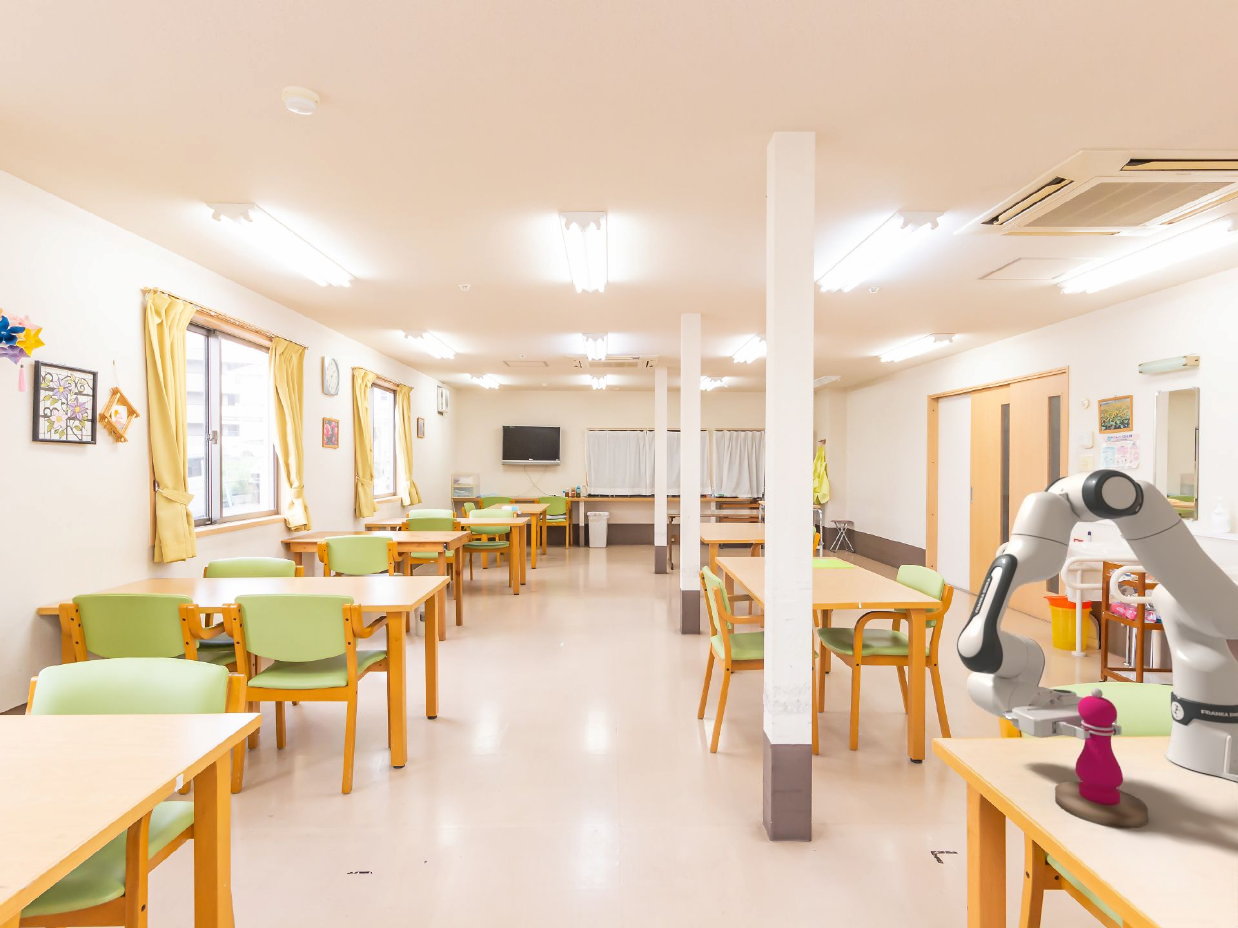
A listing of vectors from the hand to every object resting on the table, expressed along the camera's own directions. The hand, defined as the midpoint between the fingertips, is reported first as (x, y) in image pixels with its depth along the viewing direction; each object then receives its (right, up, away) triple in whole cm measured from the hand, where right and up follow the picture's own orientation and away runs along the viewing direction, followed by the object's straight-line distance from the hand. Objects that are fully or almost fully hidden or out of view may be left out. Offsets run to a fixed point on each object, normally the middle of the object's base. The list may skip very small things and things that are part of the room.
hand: (1103, 732), depth 125 cm
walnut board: (0, -14, 0) cm, 14 cm away
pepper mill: (0, -12, +1) cm, 12 cm away
